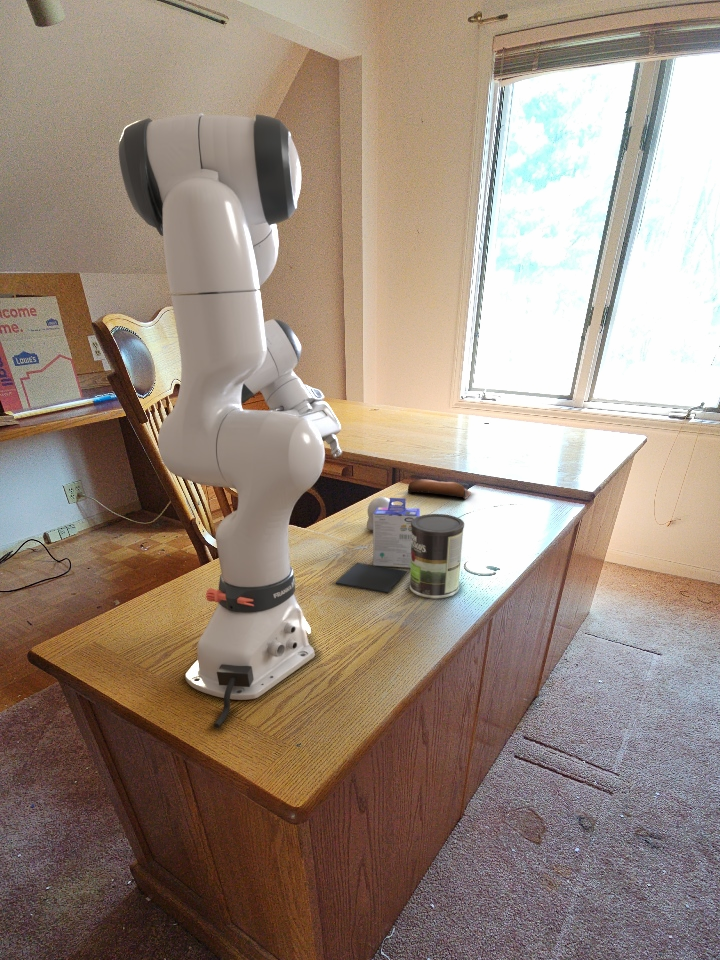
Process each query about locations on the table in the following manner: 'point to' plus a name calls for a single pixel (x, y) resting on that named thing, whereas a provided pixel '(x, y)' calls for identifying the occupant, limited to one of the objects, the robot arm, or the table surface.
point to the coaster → (371, 577)
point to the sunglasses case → (438, 488)
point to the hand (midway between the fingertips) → (328, 459)
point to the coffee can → (435, 555)
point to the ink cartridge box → (393, 534)
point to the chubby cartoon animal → (374, 504)
